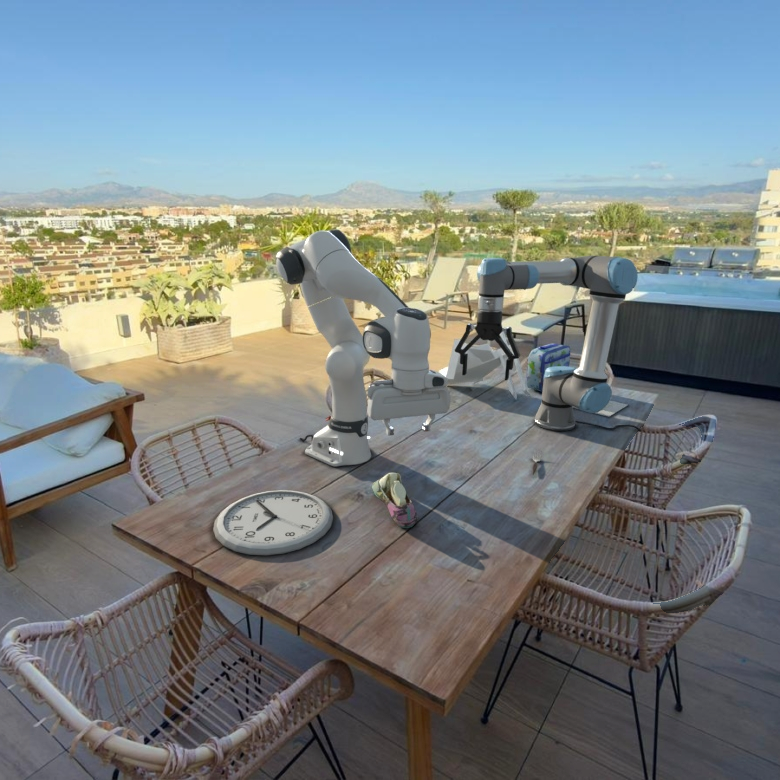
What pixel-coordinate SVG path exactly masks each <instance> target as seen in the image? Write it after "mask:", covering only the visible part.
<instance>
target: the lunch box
mask: <svg viewBox="0 0 780 780" xmlns="http://www.w3.org/2000/svg"><path fill="white" fill-rule="evenodd" d="M570 361H571V347H570V345H565V344H558V343H549V344H545V345H542V346H541V345H540V346H538V347H536V348H533V349H531V351H530V353H529V354H528V358H527V368H526V380H525V381H526V384H527V387H528V390H530V389H531V390H534V391H535V390H536V391H539V392H541V393H542V390H543V379H544V375H545V370H546V369H547V368H549V367H555V366H567V367H570Z"/></svg>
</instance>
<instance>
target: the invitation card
mask: <svg viewBox="0 0 780 780" xmlns="http://www.w3.org/2000/svg"><path fill="white" fill-rule="evenodd" d="M628 406H629V404H627V403H623V402H618V401H614V400H610V401H609V403H608V404H607V406H606V407H605V408H603V409H602V410H601V411H599V412H597V413H595V414H596V415H600V416H604V417H608V418H609V417H611V416H613V415H614V414H616V413H617V412H619V411H621V410H623V409H624V408H626V407H628ZM573 409H575V410H579V409H578V408H576V407H573Z"/></svg>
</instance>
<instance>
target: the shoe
mask: <svg viewBox="0 0 780 780" xmlns="http://www.w3.org/2000/svg"><path fill="white" fill-rule="evenodd" d="M371 489H372V491H373V494H374V496H376V498H378V499H379V500H381V501H382V502H383V503H384V504H385V505H386V507H387V509H388V512H389V514H390V516H391V518H392V520H393V521H394V522H395V523H396V524H397V525H398V526H399V527H400V528H403V529H409V528H412V527H413V526H414V525H415V524H416V523H417V522H418V517H419V516H418V513H417V510H416V508H415V505H414V503H413V501H412V500H411V497H410V496H409V495H408V492H407V491H406V488H405V486H404V485H403V484H402V476H401V474H400V473H396V472H388V473H386V474H385V475H384V476H383V477H380V478H379V479H378V480H376V481H374V482H373V483H372V485H371Z"/></svg>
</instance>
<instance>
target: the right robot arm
mask: <svg viewBox="0 0 780 780" xmlns="http://www.w3.org/2000/svg"><path fill="white" fill-rule="evenodd" d="M476 276H477V279H478V281H479V286H478V302H477V309H479V310H478V311H477V316H476V324H472V323H468V324H466V327H465V331H464V333H463V335H462V336H461V338H460V339H461V340H460V342H459V343H458V345H457V347H456V349H455V352H457V353H459V354H460V364H463V370H462V375H465V374H466V373H467V358H468V354H465V353H466V351H467V350H468V349H469V348H470V347H473V346H474V344H476V343H477V341H479V340H480V339H481V340H482V341H489V342H493V341H495V342H496V344H498V346H499V347H500V348H502V350H503V351H504V352H505V354H506V355H507V357H508V359H507V360H506V371H505V373H504V381H507V380H508V379H509V371H512V370H513V368H514V364H515V363H514V359H519V358H520V357H521V353H520V350H519V348H518V345H517V343H516V340H515V337H514V336H513V329H512V327H511V326H508V327H503V325H502V322H503V311H502V310H503V309H504V300H505V291H509V290H513V291H514V290H524V291H526V290H531V289H533V288H535V287H536V286H537V285H538V284H540V285H541V284H560V285H562V286H565V287H566V286H571V287H577V288H582V289H587V290H589V297H590V299H591V300H592V303H591V307H590V312H589V316H588V321H587V327H586V332H585V336H584V341H583V347H582V351H581V355H580V361H579V366H578V367H574V366H569V367H567V366H555V367H549V368H547V369H546V370H545V375H544V379H543V390H542V392H541V402H540V405H539V407H538V410H537V411H536V413H535V416H534V424H535V425H536V426H537V427H539V428H542V429H544V430H549V431H556V432H567V431H572V430H574V429H575V428H576V424H580V425H585V426H591V427H596V428H599V429H604V430H608V431H614V430H616V429H617V428H624V427H625V428H633V429H636V430H637V432H642V429H640V428H639V427H638V426H636V425H633V424H616V425H615V426H614V427H607V426H603V425H599V424H596V423H590V422H585V421H579V420H576V418H575V417H576V416H575V413H574V407H576V408H578V409H577V410H580V411H581V412H586V413H589V414H596V413H597V412H599V411H601V410H602V409H603V408H605V407H606V406H607V404H608V403H609V401H611V399H612V394H613V391H612V388H611V386H610V385H609V384H608V375H607V374H606V371H605V370H606V365H607V363H608V362H607V361H608V357H609V352H610V347H611V343H612V339H613V334H614V330H615V329H614V328H615V325H616V320H617V316H618V310H619V307H620V304H621V303H622V302H623V301H625V300H626V298H627V297H626V296H627V295H628V294H630V293H632V292H633V291H634V290H633V289H635V288H636V286H637V284H638V277H639V276H638V269H637V266H636V265H635V263H634V262H633V261H632V260H631V259H630V258H627V257H620V256H607V255H605V256H603V255H585V256H577V257H575V256H574V257H565V258H562V259H561V260H539V261H538V260H536V261H535V260H534V261H507V259H506V258H501V257H499V258H497V257H493V258H492V257H486V258H483V259H482V260H481V263H480V264H479V266H478V268H477V271H476ZM502 327H503V328H502ZM474 330H475V332H476V333H477V334H476V336H474V337H473V338H472V340H470V342H468V343H467V346H466V347H465V348H464V349H461V348H462V346H463V344H464V342H465V343H466V341H467V339H468V337H470V336H469V335H470V334H471V332H473V331H474ZM502 331H503V332H504V334H505V336H506V339H507V342H508V343H509V345H510V346H511V348H512V351H513V353H514V355H513V354H512V352H511V351H510V349H509V348H508V347H507V345H506V344H505V343H504V341H503V340H502V338H501V336H500V334H501V332H502ZM576 408H575V409H576Z"/></svg>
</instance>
